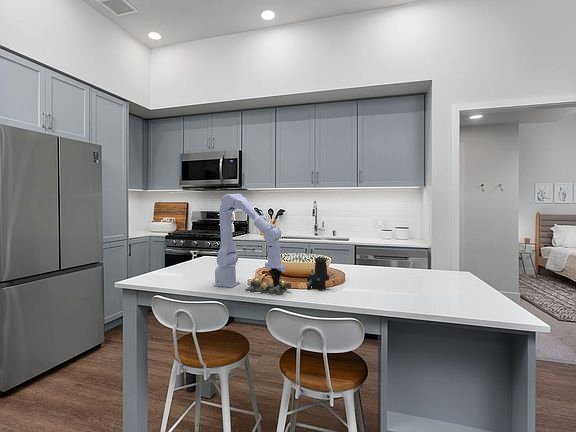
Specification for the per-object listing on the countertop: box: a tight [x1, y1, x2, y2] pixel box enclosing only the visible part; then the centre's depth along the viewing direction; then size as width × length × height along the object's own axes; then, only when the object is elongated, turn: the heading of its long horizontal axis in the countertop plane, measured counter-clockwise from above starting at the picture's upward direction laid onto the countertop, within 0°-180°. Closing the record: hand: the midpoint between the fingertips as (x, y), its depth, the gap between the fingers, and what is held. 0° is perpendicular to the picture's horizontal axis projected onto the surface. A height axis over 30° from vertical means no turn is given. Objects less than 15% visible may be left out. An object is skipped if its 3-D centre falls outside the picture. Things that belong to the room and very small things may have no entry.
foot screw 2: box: [279, 279, 292, 289], centre depth 147 cm, size 7×4×2 cm, turn 40°
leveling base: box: [245, 284, 290, 296], centre depth 149 cm, size 17×11×2 cm, turn 70°
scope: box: [305, 256, 331, 291], centre depth 149 cm, size 8×14×10 cm
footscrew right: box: [261, 281, 277, 290], centre depth 146 cm, size 7×4×2 cm, turn 105°
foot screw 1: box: [250, 277, 262, 286], centre depth 151 cm, size 7×4×2 cm, turn 161°
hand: (276, 285), depth 146 cm, fingers closed, pressing on footscrew right
